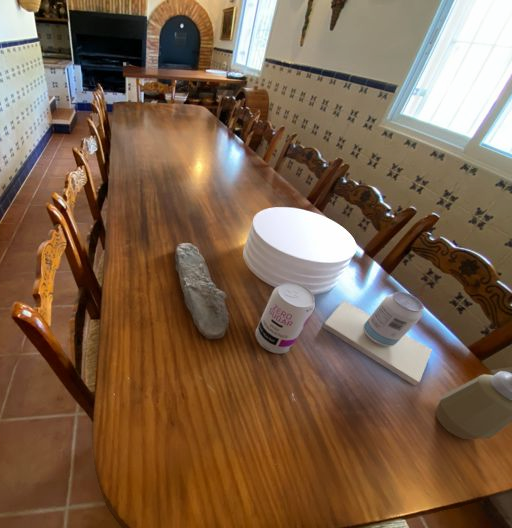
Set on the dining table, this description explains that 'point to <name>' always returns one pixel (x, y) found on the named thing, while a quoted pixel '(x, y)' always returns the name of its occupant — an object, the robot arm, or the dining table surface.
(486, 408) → the squeeze bottle
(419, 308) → the beverage can
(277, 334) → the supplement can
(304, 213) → the plate stack
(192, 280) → the long grey stone
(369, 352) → the serving board
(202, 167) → the dining table surface
